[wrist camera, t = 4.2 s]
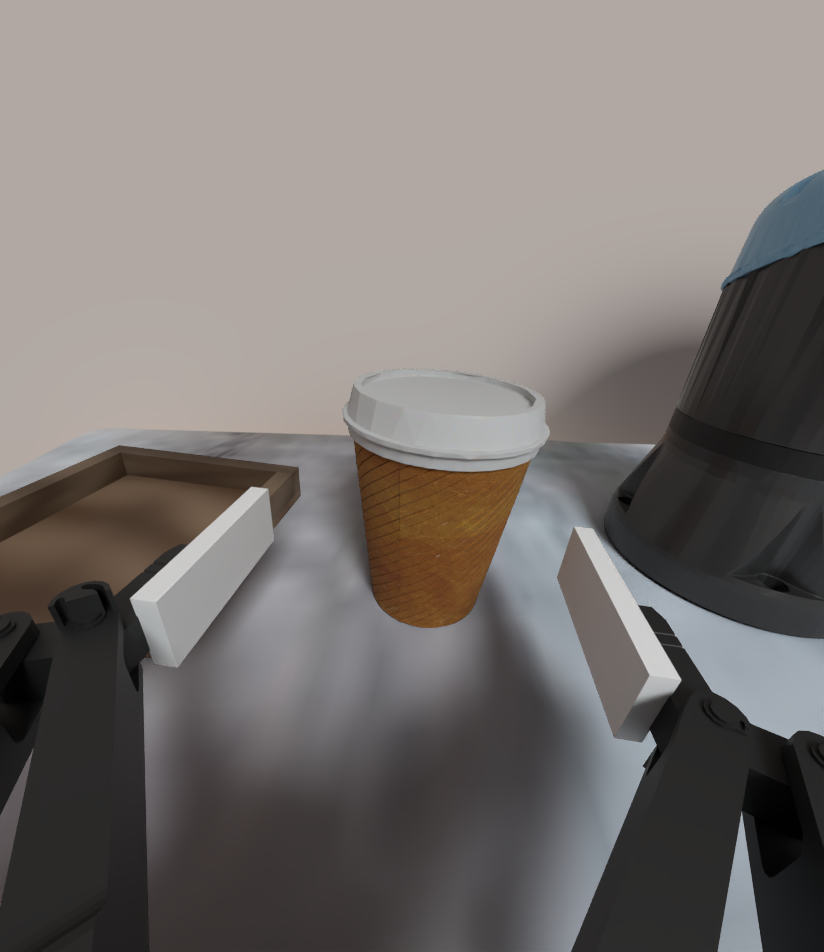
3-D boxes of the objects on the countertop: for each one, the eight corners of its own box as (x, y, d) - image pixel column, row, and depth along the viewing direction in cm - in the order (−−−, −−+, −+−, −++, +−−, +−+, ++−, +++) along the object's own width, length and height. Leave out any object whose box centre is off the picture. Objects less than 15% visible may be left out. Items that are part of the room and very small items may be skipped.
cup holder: (166, 660, 16) (152, 619, 15) (-132, 610, 18) (-167, 568, 16) (300, 495, 30) (298, 467, 29) (127, 473, 31) (119, 445, 30)
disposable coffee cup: (328, 650, 18) (318, 408, 12) (357, 533, 26) (359, 361, 21) (522, 662, 18) (597, 430, 12) (489, 543, 26) (524, 375, 21)
